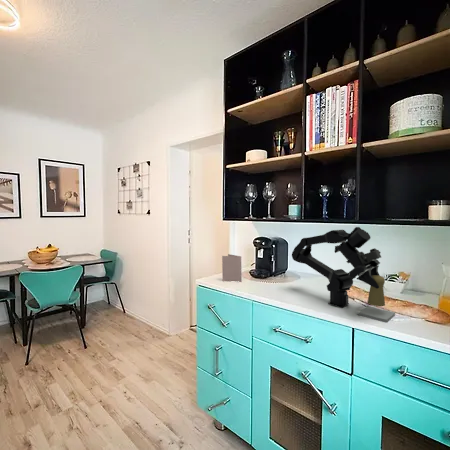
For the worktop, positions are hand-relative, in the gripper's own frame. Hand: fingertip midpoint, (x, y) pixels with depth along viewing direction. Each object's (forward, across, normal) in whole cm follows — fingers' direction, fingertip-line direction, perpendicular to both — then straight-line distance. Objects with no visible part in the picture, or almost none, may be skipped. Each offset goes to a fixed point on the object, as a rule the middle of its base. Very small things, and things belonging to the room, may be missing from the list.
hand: (380, 286), depth 103 cm
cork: (+4, 0, +6) cm, 7 cm away
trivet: (+7, 0, +9) cm, 12 cm away
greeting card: (-46, -5, +64) cm, 79 cm away
